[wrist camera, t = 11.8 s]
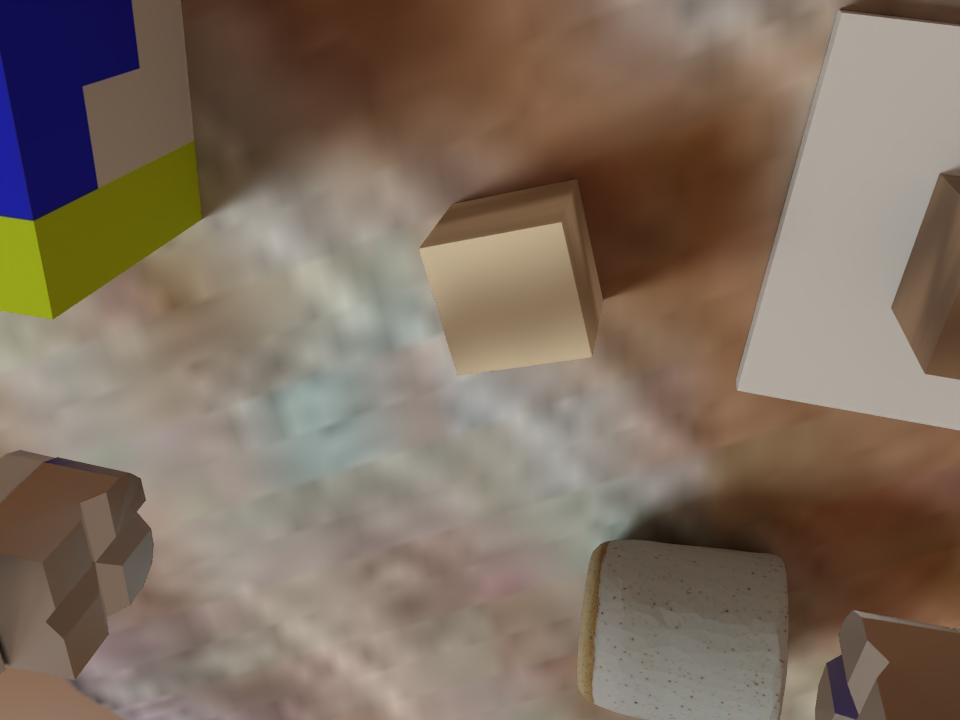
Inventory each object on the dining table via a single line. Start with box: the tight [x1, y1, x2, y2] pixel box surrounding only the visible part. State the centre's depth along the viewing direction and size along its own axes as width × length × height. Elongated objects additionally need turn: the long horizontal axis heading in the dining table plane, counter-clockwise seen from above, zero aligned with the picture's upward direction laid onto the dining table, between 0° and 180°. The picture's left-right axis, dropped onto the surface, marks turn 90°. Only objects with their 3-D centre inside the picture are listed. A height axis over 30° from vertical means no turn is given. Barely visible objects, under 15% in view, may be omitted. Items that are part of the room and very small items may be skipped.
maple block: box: [419, 179, 603, 376], centre depth 32 cm, size 5×5×5 cm
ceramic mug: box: [577, 539, 789, 720], centre depth 37 cm, size 11×8×8 cm
